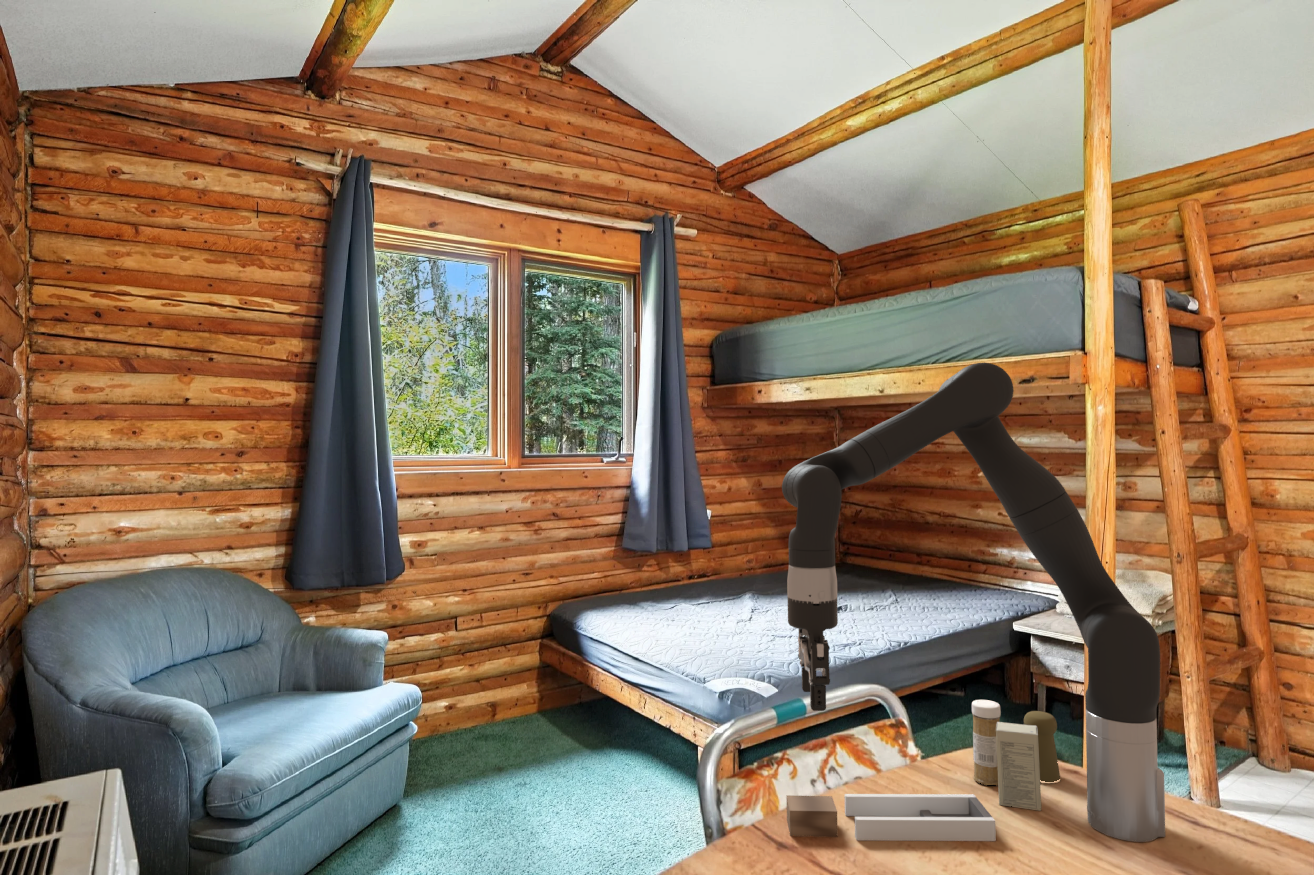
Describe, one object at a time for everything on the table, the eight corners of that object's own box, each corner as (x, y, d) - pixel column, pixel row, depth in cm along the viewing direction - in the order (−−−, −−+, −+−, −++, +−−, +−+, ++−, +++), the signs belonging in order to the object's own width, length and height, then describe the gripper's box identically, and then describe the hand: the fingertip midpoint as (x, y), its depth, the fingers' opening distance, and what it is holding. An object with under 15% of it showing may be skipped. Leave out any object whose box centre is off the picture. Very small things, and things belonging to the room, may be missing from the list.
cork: (1065, 785, 132) (1064, 720, 132) (1027, 782, 133) (1026, 718, 133) (1054, 770, 138) (1053, 708, 138) (1018, 768, 139) (1017, 706, 139)
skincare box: (1040, 800, 126) (1039, 725, 126) (1041, 812, 122) (1040, 734, 123) (997, 793, 129) (996, 719, 129) (996, 804, 125) (995, 728, 125)
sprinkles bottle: (1006, 781, 134) (1004, 702, 134) (995, 789, 131) (993, 709, 131) (979, 773, 137) (978, 696, 137) (968, 781, 134) (967, 703, 134)
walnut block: (832, 821, 121) (831, 796, 121) (837, 838, 116) (837, 811, 116) (786, 821, 121) (786, 795, 121) (790, 837, 116) (789, 810, 116)
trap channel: (974, 813, 122) (973, 794, 122) (995, 841, 114) (995, 820, 114) (844, 812, 123) (844, 793, 123) (856, 840, 115) (856, 819, 115)
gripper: (782, 586, 127) (783, 685, 127) (794, 604, 112) (795, 716, 112) (828, 585, 126) (829, 685, 126) (846, 604, 112) (847, 716, 112)
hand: (813, 700), depth 119 cm, fingers open, 8 cm apart
